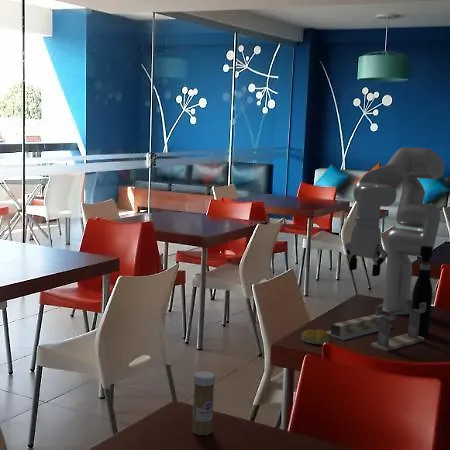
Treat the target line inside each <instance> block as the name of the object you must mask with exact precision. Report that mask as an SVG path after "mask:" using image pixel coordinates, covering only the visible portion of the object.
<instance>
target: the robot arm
mask: <svg viewBox="0 0 450 450" xmlns="http://www.w3.org/2000/svg"><path fill="white" fill-rule="evenodd" d="M444 172H445V162H444V161H443V158H442V157H441V156H440V155H439V154H437V153H436V152H435V151H434V150H432V149H430V148H426V147H413V146H412V147H409V146H404V147H400V148H399V149H397V150H396V151H395V152H394V154H393V155H392V156H391V157H390V159H389V160H388V162H387V163H386V164H385V165H383V166H380V167H378V168H375V169H373V170H369V171H367V172H366V173H365V174H363V175H362V177H360V179H359V180H358V181H357V183H356V185H355V186H354V189H353V193H352V194H353V199H354V200H355V202H356V203H357V206H356V207H357V208H356V209H357V210H356V217H354V222H355V225H353V228H352V232H351V235H350V236H351V237H350V242H347V243H345V244H344V248H345V250H346V251H345V252H346V254H347V256H348V259H349V271H355V270H357V268H358V257H360V258H365V259H366V258H367V259H371V260H372V261H373V263H374V264H372V270H371V271H372V273H371V274H372V275H371V276H372V277H377V276H380V274H381V265H382V264H383V263H384V262H385V261H386V267H385V268H386V270H385V278H384V279H385V280H384V293H383V300H382V301H383V302H382V303H380V304H379V305H382V306H383V310H382V313H386V314H389V312H390V310H393V309H395V310H397V315H402V316H403V315H405V316H406V315H410V310H411V308H410V309H406V308H405V302H406V299H411V297H410V296H411V287H412V275H413V265H412V261H411V259H410V257H409V256H413V257H419V258H422V257H421V256H420V252H421V246H429V247H433V249H434V247H435V244H436V240H437V234H438V230H439V226H440V221H441V212H440V209H439V207H437V205H435V204H430V203H424V200H425V195H426V191H425V188H424V186H423V185H422V183H421V182H420V180H419V179H425V180H426V179H427V180H438V179H440V178H441V177H442V176H443V174H444ZM399 185H401V196H400V198H399V199H400V200H399V203H398V205H397V206H398V207H397V210H396V216H395V217H396V219H395V220H396V223H397V224H398V225H399V226H402V227H406V228H398V227H397V228H393V229H391V230H389V231H388V232H387V234H386V238H385V244H386V250H385V249H384V247H382V231H381V228H380V219H381V217H380V216H381V207H385V208H386V207H390V206H392V205H393V204H394V203H395V202H396V199H397V195H398V194H397V190H396V189H395V187H394V186H399ZM407 228H415V229H419V230H413V229H407ZM421 229H422V230H421Z"/></svg>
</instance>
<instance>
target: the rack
mask: <svg viewBox="0 0 450 450" xmlns="http://www.w3.org/2000/svg"><path fill="white" fill-rule="evenodd" d="M405 308H406V309H410V308H412V298H409V299H406V302H405ZM382 310H383V306H382V305H380V304H378V305H375V309H374V314H375V316H380V315H382V314H383V311H382ZM423 312H426V303H424V302H423V303H420V305H419V310H417V309H411V310H410V314H408V315H409V317H408V326H407V327H408V329H407V333H404V334H400V335H397V336H393V337H390V331H391V328H390V325H391V321H395V320H397V317H398V316H397V315H398V314H397V310H395V309H393V310H390V312H389V313H388V314H389V315H388V316H382V317H380V323H379V331H378V334H377V335H378V336H377V341H375V342H372V343H371V345H370V346H371V347H372V348H375V349H379V350H381V351H383V352H387V353H388V352H389V351H394V350H398V349H400V348H405V347H407V346H410V345H414V344H417V343H421V342H424V341H425V337H424V336H418V331H419V321H420V313H423Z"/></svg>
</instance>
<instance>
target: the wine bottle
mask: <svg viewBox="0 0 450 450" xmlns="http://www.w3.org/2000/svg"><path fill="white" fill-rule="evenodd" d="M433 250H434V248H433V247H429V246H421V252H420V256H421V257H420V258H421V263H420V265H419V266H420V267H419V269H418V277H417V279H416V281H415V282H414V283H415V284H414V286H413V290H412V298H411V299H412V308H411V309H417V310H419V305H420V303H423V302H424V303H426V312H423V313H420V321H419V331H418V336H420V337H426V336H429V334H430V322H431V313H432V300H433V286H432V281H431V272H432V271H431V265H430V258H433Z"/></svg>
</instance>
